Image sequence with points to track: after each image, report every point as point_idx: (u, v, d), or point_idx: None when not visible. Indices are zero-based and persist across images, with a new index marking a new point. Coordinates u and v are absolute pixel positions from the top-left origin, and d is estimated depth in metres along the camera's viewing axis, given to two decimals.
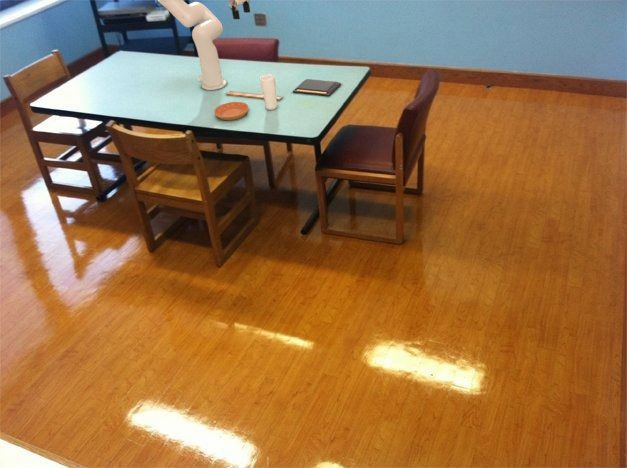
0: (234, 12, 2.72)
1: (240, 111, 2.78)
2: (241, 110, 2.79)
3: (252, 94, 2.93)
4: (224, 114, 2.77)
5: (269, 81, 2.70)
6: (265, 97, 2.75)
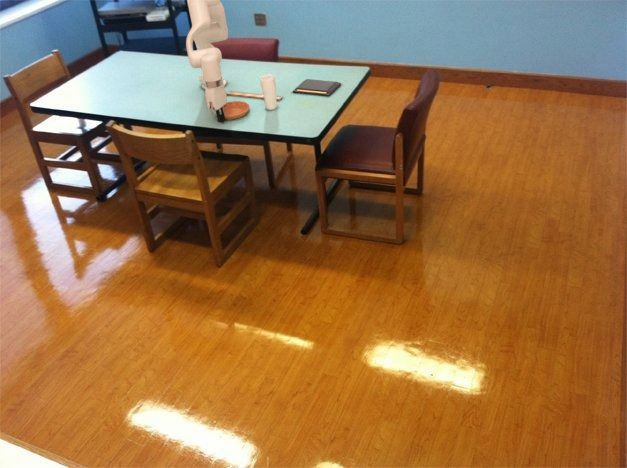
0: (218, 116, 2.69)
1: (241, 110, 2.79)
2: (242, 109, 2.80)
3: (252, 94, 2.93)
4: (225, 113, 2.78)
5: (269, 81, 2.70)
6: (265, 97, 2.75)
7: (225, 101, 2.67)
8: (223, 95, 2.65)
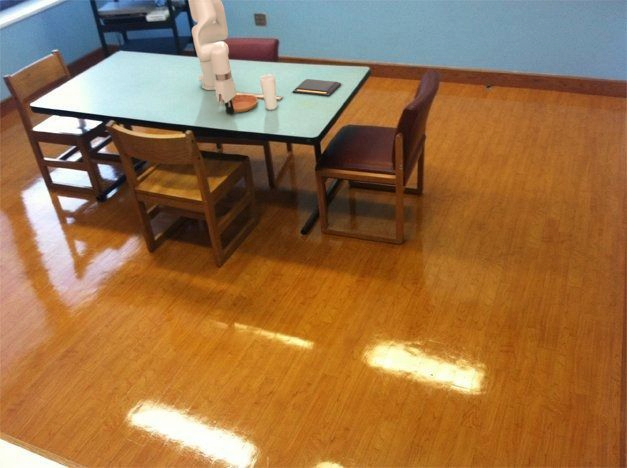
0: (227, 108, 2.74)
1: (249, 104, 2.84)
2: (250, 103, 2.85)
3: (252, 94, 2.93)
4: (233, 106, 2.83)
5: (269, 81, 2.70)
6: (265, 97, 2.75)
7: (234, 94, 2.73)
8: (232, 88, 2.70)
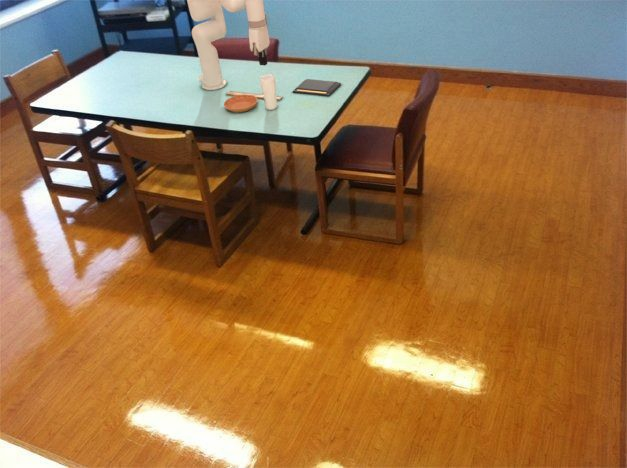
0: (261, 58, 2.65)
1: (249, 103, 2.84)
2: (250, 103, 2.85)
3: (252, 94, 2.93)
4: (233, 106, 2.83)
5: (269, 81, 2.70)
6: (265, 97, 2.75)
7: (267, 43, 2.64)
8: (266, 37, 2.61)
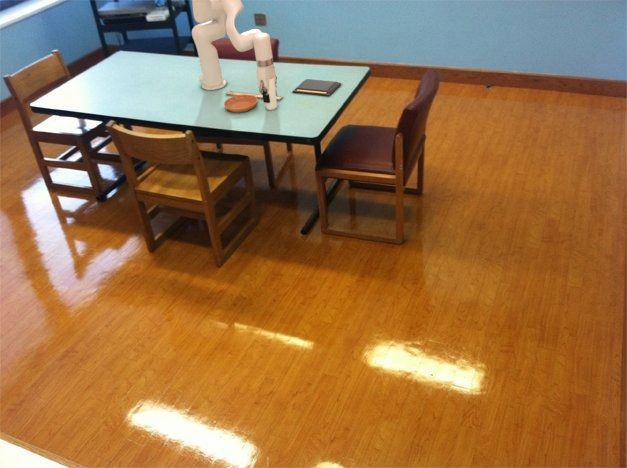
0: (265, 96, 2.73)
1: (249, 104, 2.84)
2: (250, 103, 2.85)
3: (252, 94, 2.93)
4: (233, 106, 2.83)
5: (269, 81, 2.70)
6: None
7: None
8: (273, 74, 2.72)
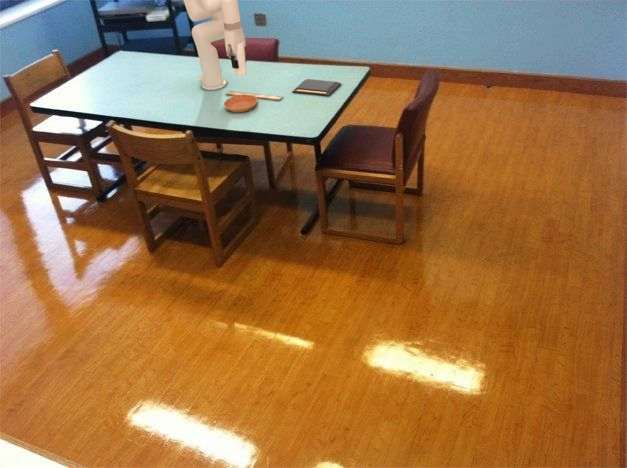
0: (233, 61, 2.66)
1: (249, 104, 2.84)
2: (250, 103, 2.85)
3: (252, 94, 2.93)
4: (233, 106, 2.83)
5: (238, 46, 2.63)
6: None
7: None
8: (242, 39, 2.65)
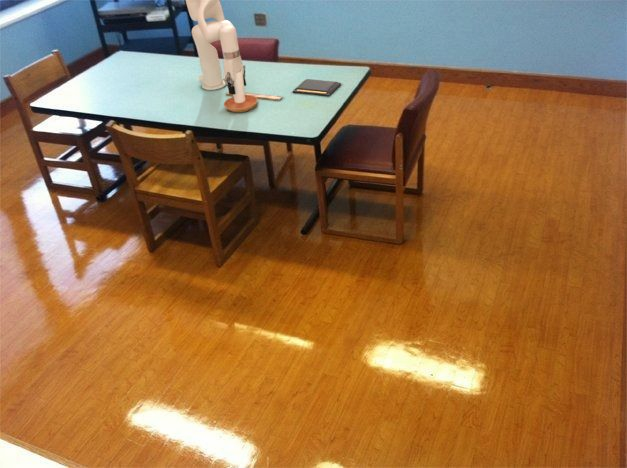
0: (230, 88, 2.73)
1: (249, 104, 2.84)
2: (250, 103, 2.85)
3: (252, 94, 2.93)
4: (234, 107, 2.83)
5: (237, 75, 2.72)
6: None
7: None
8: (240, 66, 2.73)
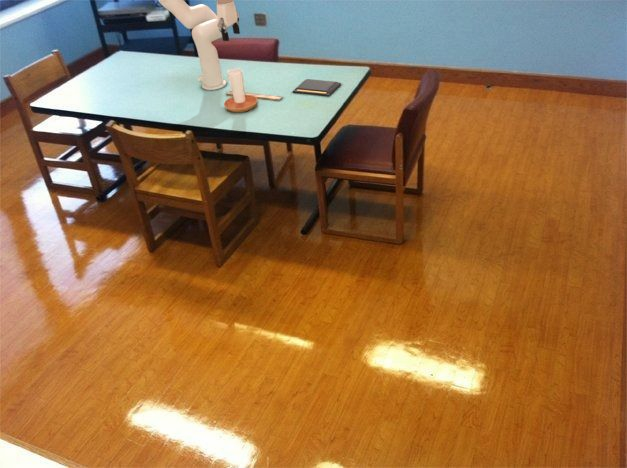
0: (223, 34, 2.74)
1: (249, 104, 2.84)
2: (250, 103, 2.85)
3: (252, 94, 2.93)
4: (234, 107, 2.83)
5: (237, 75, 2.72)
6: (233, 91, 2.77)
7: (235, 19, 2.77)
8: (233, 13, 2.75)
